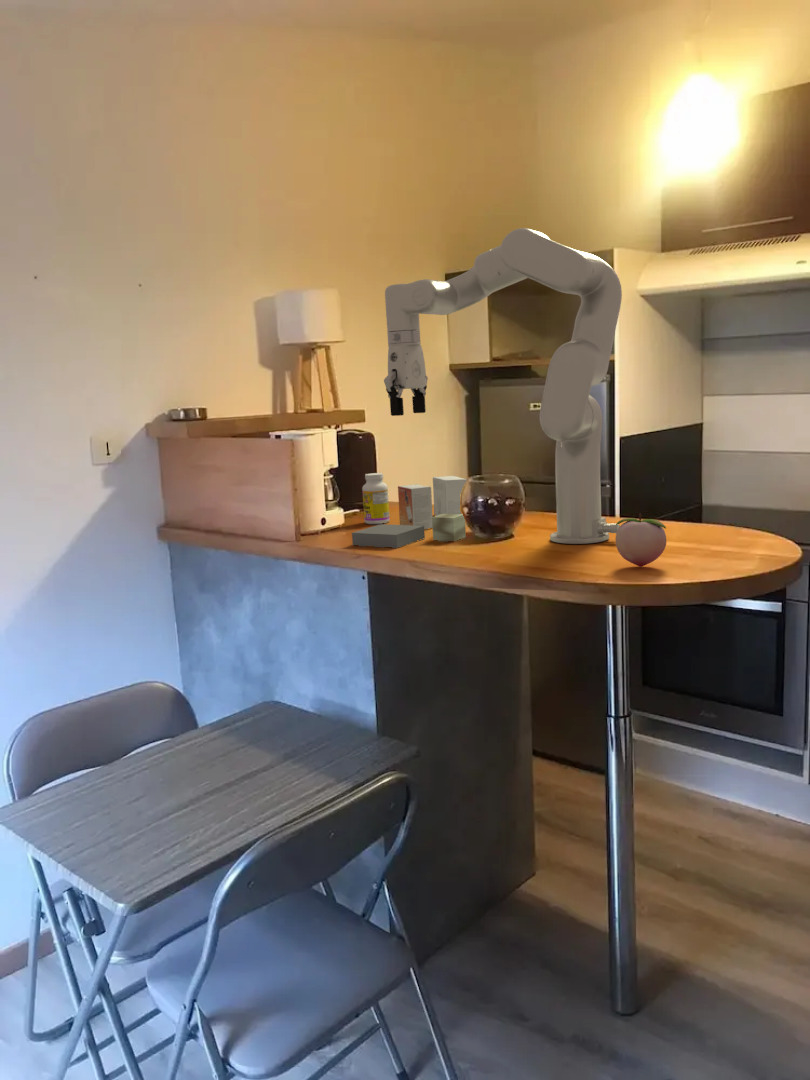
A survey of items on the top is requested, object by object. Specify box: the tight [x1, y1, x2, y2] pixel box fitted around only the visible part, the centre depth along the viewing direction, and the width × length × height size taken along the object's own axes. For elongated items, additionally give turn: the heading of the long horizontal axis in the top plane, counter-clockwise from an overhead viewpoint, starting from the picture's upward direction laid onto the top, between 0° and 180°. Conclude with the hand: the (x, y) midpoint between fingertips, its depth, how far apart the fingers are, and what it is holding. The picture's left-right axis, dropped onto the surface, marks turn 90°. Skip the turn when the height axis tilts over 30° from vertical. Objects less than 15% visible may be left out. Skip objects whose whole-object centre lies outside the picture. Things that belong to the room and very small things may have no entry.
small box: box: [397, 483, 433, 530], centre depth 227 cm, size 8×6×10 cm
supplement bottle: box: [361, 472, 390, 525], centre depth 239 cm, size 7×7×13 cm
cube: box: [432, 514, 467, 542], centre depth 209 cm, size 6×6×6 cm
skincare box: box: [432, 475, 468, 516], centre depth 242 cm, size 10×6×10 cm, turn 16°
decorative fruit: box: [615, 513, 668, 568], centre depth 168 cm, size 9×8×10 cm
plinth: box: [351, 523, 426, 549], centre depth 210 cm, size 12×12×3 cm
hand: (408, 414), depth 215 cm, fingers open, 9 cm apart
